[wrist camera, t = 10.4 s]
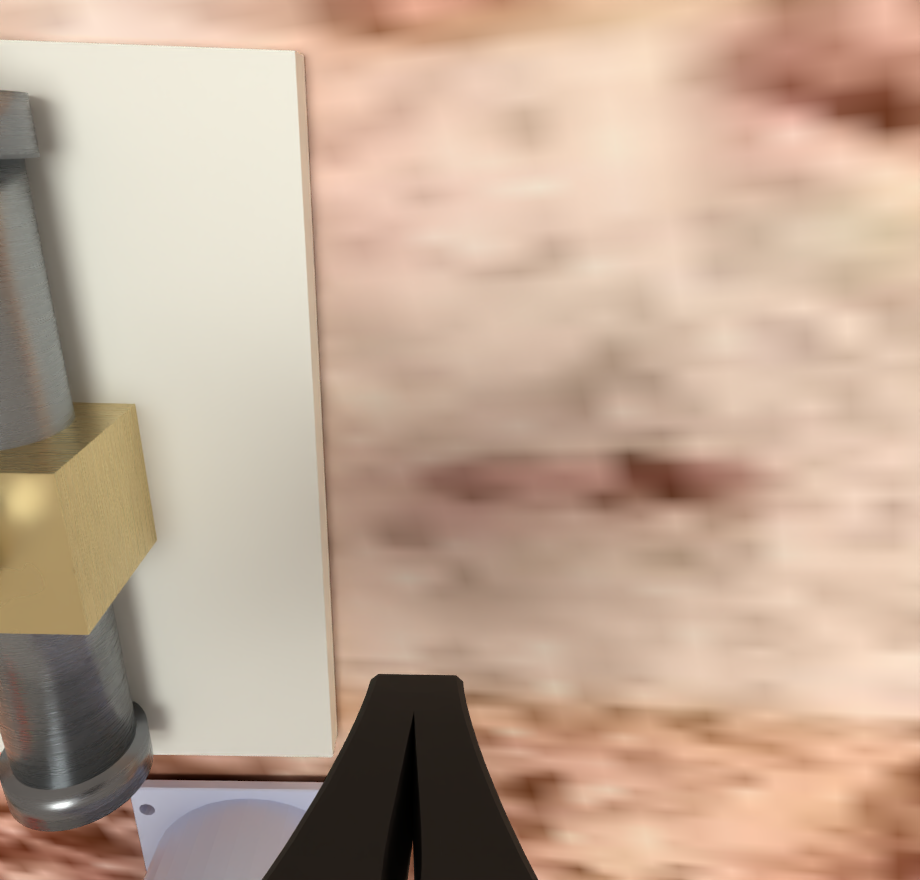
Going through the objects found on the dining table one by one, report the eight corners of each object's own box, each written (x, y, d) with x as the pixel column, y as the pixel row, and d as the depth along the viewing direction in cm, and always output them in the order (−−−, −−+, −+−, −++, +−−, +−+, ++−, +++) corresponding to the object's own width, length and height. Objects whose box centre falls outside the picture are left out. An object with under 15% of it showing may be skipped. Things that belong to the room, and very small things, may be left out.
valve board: (337, 732, 24) (332, 757, 23) (-89, 726, 23) (-111, 750, 22) (303, 55, 16) (294, 50, 15) (-343, 31, 15) (-393, 25, 14)
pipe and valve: (191, 724, 23) (135, 850, 19) (32, 721, 22) (-58, 847, 18) (92, 97, 15) (-33, 84, 11) (-143, 88, 15) (-350, 73, 11)
